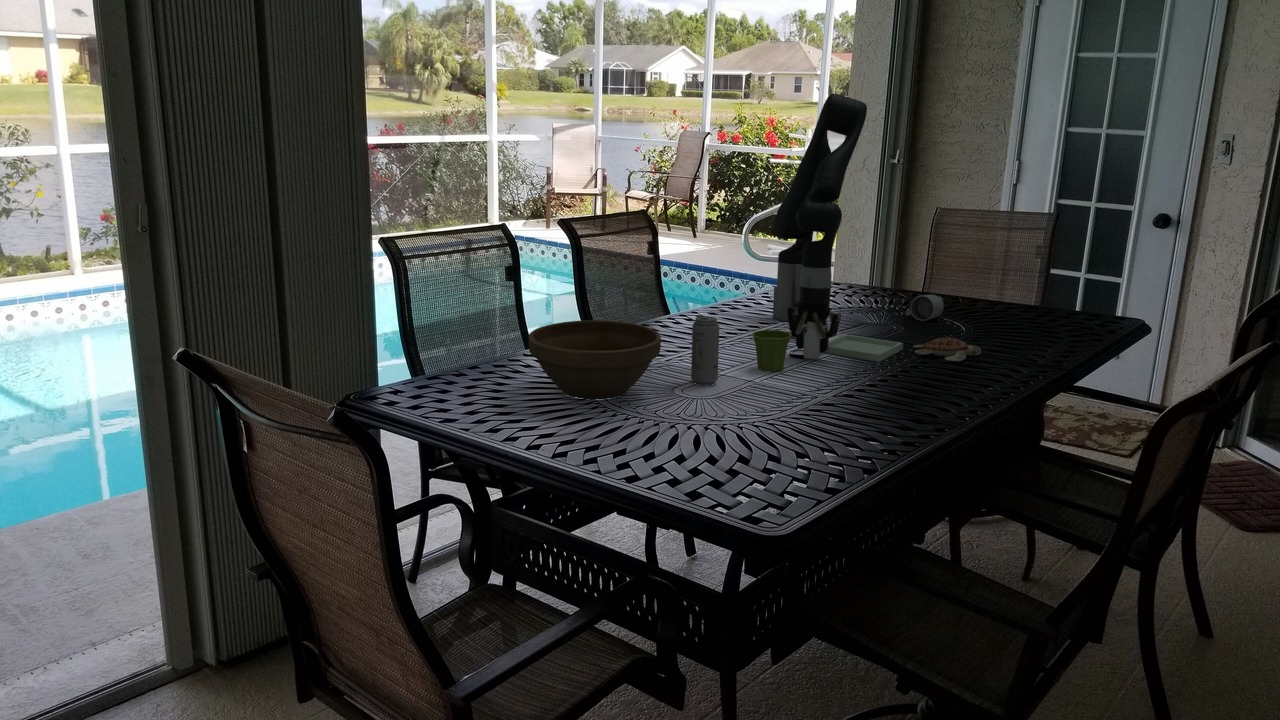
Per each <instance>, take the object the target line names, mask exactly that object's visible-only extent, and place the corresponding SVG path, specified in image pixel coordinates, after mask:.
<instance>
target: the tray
mask: <svg viewBox="0 0 1280 720" xmlns="http://www.w3.org/2000/svg"><path fill="white" fill-rule="evenodd" d="M903 349H904V342H900V341H893V340H887V339H878V338H872V337H866V336H859V335H854V334H853V335H852V334H848V333H847V334H844V335H842V336H839V337H837V338H834V339H832V340H830V341H829V342H828V350H826V352H824V353H823V354H830V355H835V354H836V356H841V355H842V356H841V357H847V356H849V357H848V358H853V357H854V358H853V359H860V360H866V361H871V362H878V363H879V362H881V361H883V360H886V359H887V358H889V357H891V356H893V355H895V354H897V353H900V352H901V351H903ZM900 350H901V351H900Z"/></svg>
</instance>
